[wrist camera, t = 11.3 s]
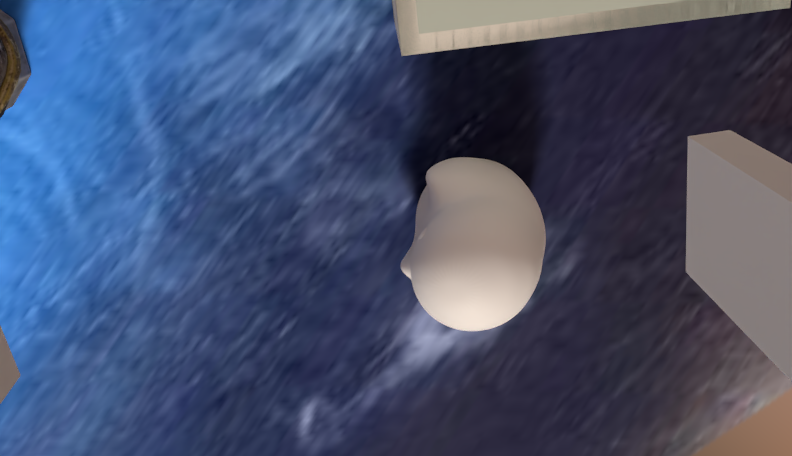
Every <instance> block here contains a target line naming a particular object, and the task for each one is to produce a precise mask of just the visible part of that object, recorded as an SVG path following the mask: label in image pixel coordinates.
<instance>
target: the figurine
mask: <svg viewBox="0 0 792 456" xmlns="http://www.w3.org/2000/svg"><path fill="white" fill-rule="evenodd" d="M426 183H427V185H426V187H425V189H424V190H423V192H422V194H421V197H420V199H419V202H418V206H417V211H416V227H415V236H414V240H413V243H412V246H411V248H410V249H409V251H408V253H407V254H406V255H405V257H404V258H403V260H402V261H401V269H402V271H403V273H404V274H405V275H407V276H408V277H409V278H410V279H412V285H413V289H414V291H415V294H416V296H417V298H418V300H419V302H420V304H421V305H422V307H423V308H424V309H425V310H426V311H427V312H428V314H430V315H431V316H432V317H433V318H434V319H436V320H437V321H439V322H440V323H442V324H444V325H446V326H448V327H451V328H454V329H458V330H464V331H481V330H487V329H491V328H494V327H497V326H499V325H502V324H503V323H505V322H507V321H509V320H510V319H512V318H513V317H514V316H515V315H516V314H518V313H519V312H520V311H521V309H522V308H523V307H524V306H525V304H526V303H527V302H528V300H529V299H530V297H531V295H532V293H533V292H534V290H535V288H536V285H537V283H538V280H539V277H540V273H541V269H542V259H543V255H544V251H545V241H546V237H545V226H544V221H543V217H542V214H541V211H540V208H539V206H538V204H537V202H536V200H535V198H534V196H533V194H532V193H531V191H530V190H529V188H528V187H527V186H526V184H525V183H524V182H523V181H522V180H521V179H520V178H519V176H517V175H516V174H515V173H514V172H513V171H512V170H510V169H509V168H507V167H506V166H504V165H502V164H500V163H498V162H495V161H492V160H488V159H481V158H471V157H457V158H450V159H447V160H444V161H441V162H439V163H437V164H435V165H433V166H432V167H431V168H430V169H429V170H428V171H427V173H426Z"/></svg>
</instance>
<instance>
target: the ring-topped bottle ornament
mask: <svg viewBox="0 0 792 456" xmlns="http://www.w3.org/2000/svg"><path fill="white" fill-rule="evenodd" d="M30 75H31V72H30V69H29V65H28V62H27V59H26V56H25V52H24V49H23V46H22V43H21V40H20V36H19V33H18V30H17V27H16V23H15V20H14V19H13V18H11V17H10V16H9V15H7V14H6V13H4V12H3V11H2V10H0V118H1V117H2V115H3V114H4V112H5V110H7V109H8V108H10V107H12V106H13V105H14V103H15V102H16V100H17V98H18V96H19V95H20V93H21V91H22V89H23V88H24V86H25V84H26V82H27V81H28V79H29V77H30Z"/></svg>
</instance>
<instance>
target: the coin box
mask: <svg viewBox="0 0 792 456" xmlns="http://www.w3.org/2000/svg"><path fill="white" fill-rule="evenodd" d="M790 3H791V0H392V4H393V13H394V22H395V27H396V31H397V36H398V41H399V45H400V50H401V55H402V56H406V55H414V54H422V53H430V52H438V51H446V50H454V49H462V48H470V47H479V46H487V45H495V44H503V43H511V42H519V41H527V40H535V39H543V38H551V37H559V36H567V35H575V34H583V33H591V32H599V31H607V30H615V29H623V28H631V27H640V26H648V25H656V24H664V23H672V22H680V21H688V20H696V19H704V18H712V17H720V16H728V15H736V14H744V13H752V12H760V11H768V10H776V9H784V8H790Z"/></svg>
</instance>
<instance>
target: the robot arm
mask: <svg viewBox="0 0 792 456" xmlns="http://www.w3.org/2000/svg"><path fill="white" fill-rule="evenodd" d="M686 272H687V274H688V275H689V276H690V277H691V278H692V279H693V280H694V281H695V282H696V283H697V284H698V285H699V286H700V287H701V288H702V289H703V290H704V291H705V292H706V293H707V294H708V295H709V296H710V297H711V298H712V299H713V301H714V302H715V303H716V304H717V305H718V306H719V307H720V308H721V309H722V310H723V311H724V312H725V313H726V314H727V315H728V316H729V317H730V318H731V319H732V320H733V321H734V322H735V323H736V324H737V325H738V326H739V328H740V329H741V330H742V331H743V332H744V333H745V334H746V335H747V336H748V337H749V338H750V339H751V340H752V341H753V342H754V343H755V344H756V345H757V346H758V347H759V348H760V349H761V350H762V351H763V352H764V353H765V355H766V356H767V357H768V358H769V359H770V360H771V361H772V362H773V363H774V364H775V365H776V366H777V367H778V368H779V369H780V370H781V371H782V372H783V373H784V374H785V375H786V376H787V377H788V378H789V379H790V380H791V382H792V164H791V163H789V162H787V161H785V160H783V159H781V158H780V157H778V156H776V155H774V154H772V153H771V152H769V151H767V150H765V149H763V148H761V147H760V146H758V145H756V144H754V143H752V142H751V141H749V140H747V139H745V138H743V137H742V136H740V135H738V134H736V133H734V132H732V131H731V130H727V131H720V132H714V133H707V134H701V135H695V136H688V165H687V228H686ZM19 377H20V373H19V370H18V368H17V366H16V363H15V361H14V358H13V356H12V353H11V351H10V348H9V346H8V344H7V341H6V339H5V336H4V334H3V331H2V329H1V326H0V404H1V402H2V401H3V399H4V398H5V397H6V395H7V394H8V392H9V391H10V390H11V388H12V387H13V385H14V384H15V383H16V381H17V380H18V378H19Z"/></svg>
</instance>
